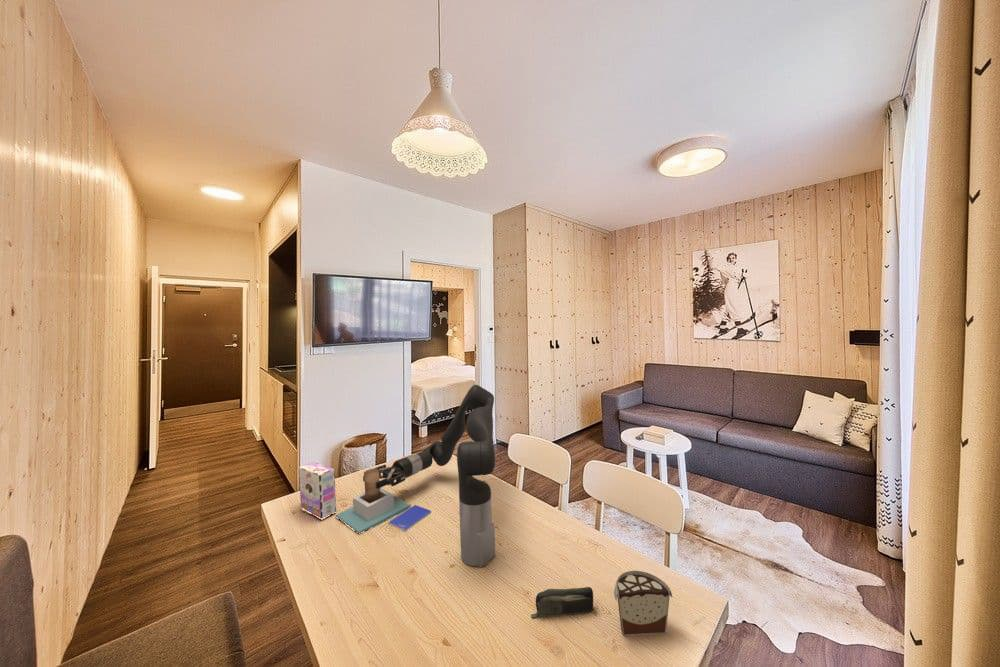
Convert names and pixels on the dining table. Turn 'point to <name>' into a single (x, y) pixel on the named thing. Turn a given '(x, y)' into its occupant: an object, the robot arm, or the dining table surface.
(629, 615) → the chocolate drizzled cake
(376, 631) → the dining table surface
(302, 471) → the candy box
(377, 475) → the walnut peg
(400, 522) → the hard drive
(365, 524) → the socket plate
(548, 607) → the black pencil case
